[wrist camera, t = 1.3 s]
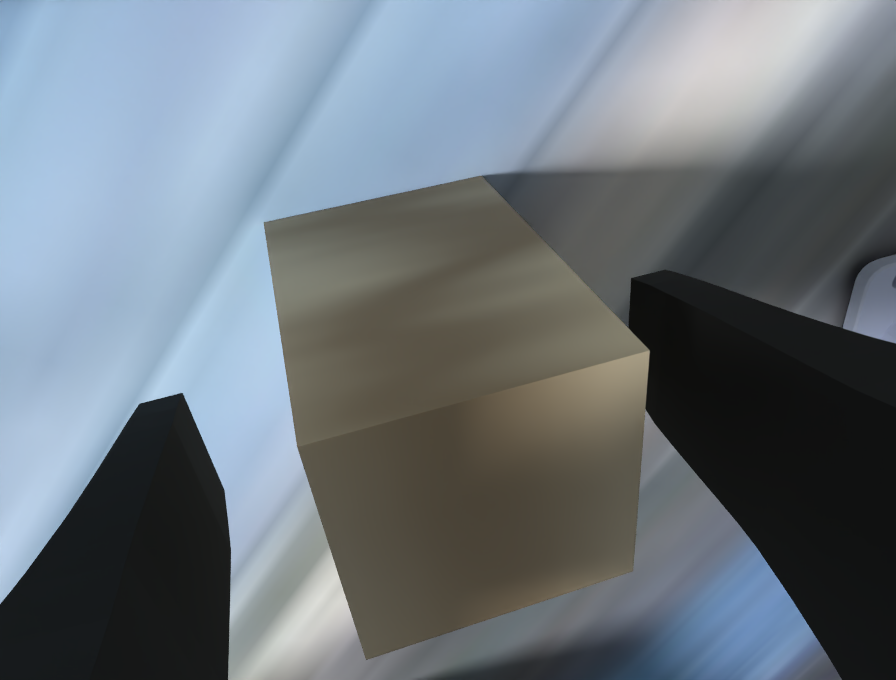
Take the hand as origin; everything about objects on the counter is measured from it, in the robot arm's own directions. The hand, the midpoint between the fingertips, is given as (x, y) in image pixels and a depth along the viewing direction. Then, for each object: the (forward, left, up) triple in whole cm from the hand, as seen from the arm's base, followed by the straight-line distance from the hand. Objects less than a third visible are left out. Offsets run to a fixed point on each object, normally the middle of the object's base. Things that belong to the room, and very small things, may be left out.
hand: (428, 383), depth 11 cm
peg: (0, 0, -3) cm, 3 cm away
